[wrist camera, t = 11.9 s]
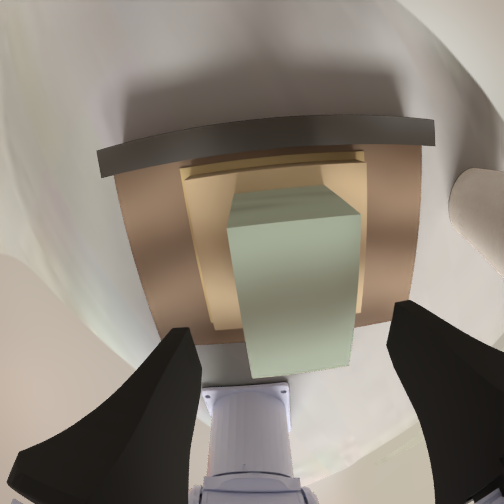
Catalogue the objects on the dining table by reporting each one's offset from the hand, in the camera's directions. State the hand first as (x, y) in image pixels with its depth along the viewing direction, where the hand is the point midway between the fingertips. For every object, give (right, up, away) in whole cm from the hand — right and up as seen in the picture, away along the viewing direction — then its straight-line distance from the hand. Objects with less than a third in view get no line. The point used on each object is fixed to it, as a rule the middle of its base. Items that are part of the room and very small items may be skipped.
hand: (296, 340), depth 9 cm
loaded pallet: (0, +3, +7) cm, 8 cm away
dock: (0, +4, +9) cm, 10 cm away
